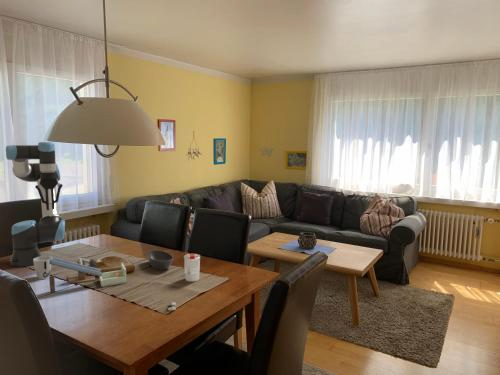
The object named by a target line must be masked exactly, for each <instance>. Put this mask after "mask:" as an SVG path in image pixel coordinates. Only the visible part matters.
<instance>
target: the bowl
mask: <svg viewBox="0 0 500 375" xmlns="http://www.w3.org/2000/svg"><path fill="white" fill-rule="evenodd" d="M145 255H146V258H147V260H148V262H149V264H150V265H151V267H152V268H154V269H157V270H161V271H166V270H168V269H169V268H170V267H171V265H172V263H173V261H174V255H172V254H171V253H170V252H168V251H164V250H160V249H151V250H148V251H147V252H146V253H145Z"/></svg>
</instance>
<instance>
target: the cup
mask: <svg viewBox="0 0 500 375" xmlns="http://www.w3.org/2000/svg"><path fill="white" fill-rule="evenodd" d="M51 257H52V256H51V255H41V256H40V257H36V258H34V259H33V262H34V265H33V268H34V270H35V275H36V276H37V279H38V280H44V279H48V278H49V276H51V272H52V264H49V261H50V258H51Z"/></svg>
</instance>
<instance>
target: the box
mask: <svg viewBox="0 0 500 375" xmlns="http://www.w3.org/2000/svg"><path fill="white" fill-rule="evenodd" d="M120 265H121V266H120V267H121V268H120V269H119V270H114V271H113V270H112V271H106V272H102V275H101V277H100V276H98V280H99V283H100V286H101V288H105V287H111V286H115V285H116V286H117V285H121V284H126V283H127V268H126V266H125V265H124V263H123V262H121V263H120ZM116 273H120V274H121V276H120V277H115V274H116Z"/></svg>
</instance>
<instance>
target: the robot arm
mask: <svg viewBox="0 0 500 375" xmlns="http://www.w3.org/2000/svg"><path fill="white" fill-rule="evenodd" d="M5 157H6V160H8V161H12V170H11V171H12V173H13V175H14V176H15V177H16V178H18V179H19V180H21V181H24V182H28V183H35V182H36V184H35V189H36V190H37V192H38V195H39V197H40V200H41V203H40V204H41V214H42V217H41V218H40V219H39V221H38V222H36V220H34V219H32V220H31V219H29V220H23V221H20V222H17V223H14V224H13V225H12V226H11V237H12V238H11V239H12V240H11V241H12V254H11V256H10V266H11V267H15V268H16V267H17V268H19V267H20V268H23V267H28V266H34V262H33V259H34V258H36V257H40V256H42V255H41V252H40V250H39V248H38V244H42V243H50V242H57V241H63V240H64V238H65V234H66V233H65V231H66V230H65V228H66V220H65V219H63V217H62V216H60V214H59V213H60V212H59V204H58V202H59V198H60V194H61V190H62V188H63V184H62V183H59V181H61V173H60V168H59V166H58V164H57V163H56V147H55V143H54V142H53V141H39V142H38V143H37V145H36V144H35V145H32V144H30V145H29V144H26V145H25V144H23V145H20V144H19V145H18V144H17V145H15V144H12V145H11V144H10V145H6V146H5ZM29 160H38V162H35V163H34V162H31V163H30V162H29Z"/></svg>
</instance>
